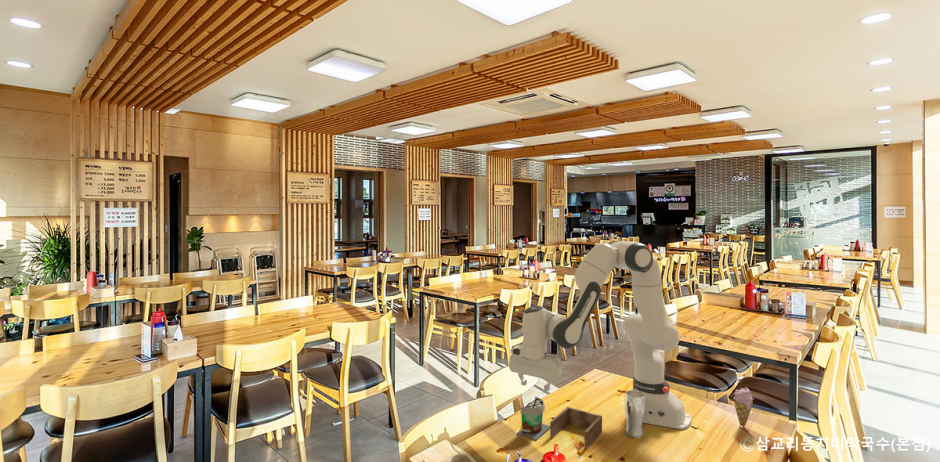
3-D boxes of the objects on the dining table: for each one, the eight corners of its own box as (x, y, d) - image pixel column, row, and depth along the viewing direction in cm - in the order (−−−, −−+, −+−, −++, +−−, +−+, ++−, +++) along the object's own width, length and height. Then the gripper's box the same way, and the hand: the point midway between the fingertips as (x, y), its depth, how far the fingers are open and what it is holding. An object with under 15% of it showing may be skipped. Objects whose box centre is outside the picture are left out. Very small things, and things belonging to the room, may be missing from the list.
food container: (535, 439, 162) (535, 411, 162) (520, 434, 166) (520, 407, 165) (550, 425, 172) (550, 399, 172) (535, 421, 176) (535, 396, 175)
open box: (601, 431, 169) (602, 415, 168) (586, 449, 156) (586, 432, 156) (567, 421, 177) (567, 406, 176) (550, 438, 164) (550, 421, 164)
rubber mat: (551, 427, 172) (551, 426, 172) (536, 440, 162) (536, 439, 162) (532, 421, 177) (532, 420, 177) (516, 434, 167) (516, 433, 167)
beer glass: (621, 429, 171) (622, 389, 170) (640, 429, 170) (641, 390, 170) (627, 438, 164) (628, 397, 163) (647, 438, 163) (648, 397, 163)
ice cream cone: (757, 429, 170) (758, 390, 170) (745, 432, 168) (746, 392, 167) (740, 421, 176) (741, 383, 176) (729, 424, 174) (730, 386, 173)
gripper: (564, 353, 165) (565, 390, 165) (515, 344, 176) (515, 379, 177) (557, 358, 159) (557, 396, 160) (506, 348, 171) (507, 384, 172)
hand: (535, 387), depth 169 cm, fingers open, 8 cm apart
